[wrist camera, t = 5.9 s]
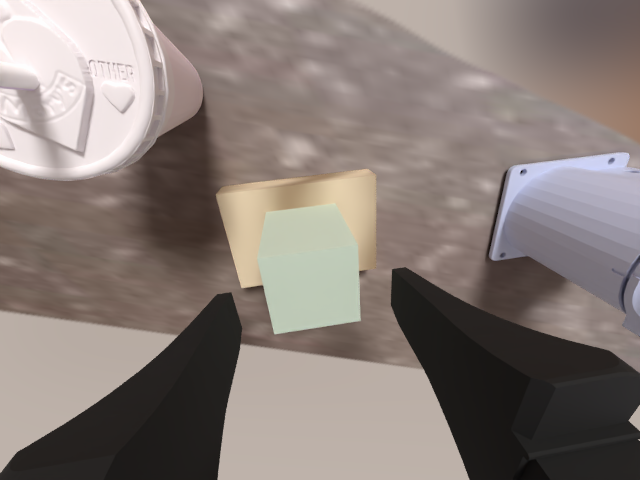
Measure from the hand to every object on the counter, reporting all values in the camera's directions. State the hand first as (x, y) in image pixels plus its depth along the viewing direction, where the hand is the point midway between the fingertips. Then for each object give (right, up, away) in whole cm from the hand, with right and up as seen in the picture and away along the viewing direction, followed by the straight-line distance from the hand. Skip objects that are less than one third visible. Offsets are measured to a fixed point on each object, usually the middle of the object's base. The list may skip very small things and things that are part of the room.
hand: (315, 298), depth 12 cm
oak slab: (-1, +4, +8) cm, 9 cm away
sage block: (-1, +3, +6) cm, 7 cm away
